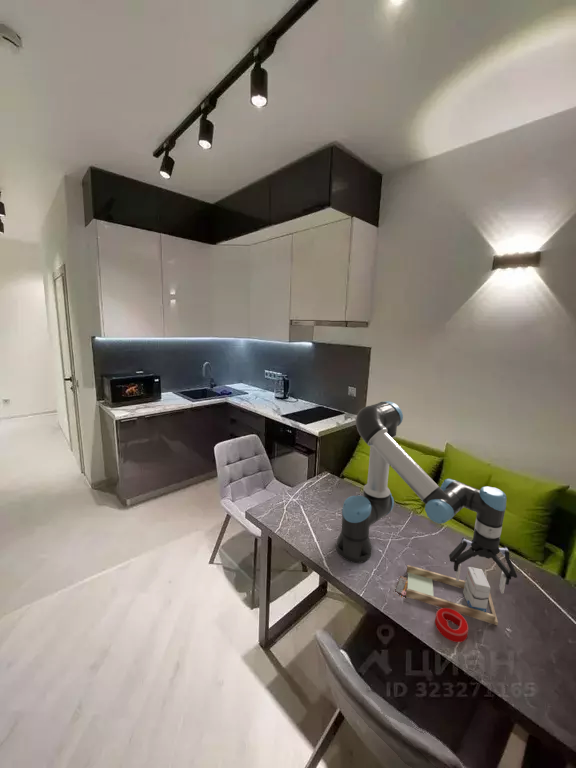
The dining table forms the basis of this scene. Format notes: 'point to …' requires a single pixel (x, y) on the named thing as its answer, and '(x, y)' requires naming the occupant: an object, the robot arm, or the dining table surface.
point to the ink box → (476, 589)
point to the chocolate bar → (402, 586)
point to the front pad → (420, 584)
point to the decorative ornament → (456, 618)
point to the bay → (444, 603)
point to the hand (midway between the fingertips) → (478, 584)
